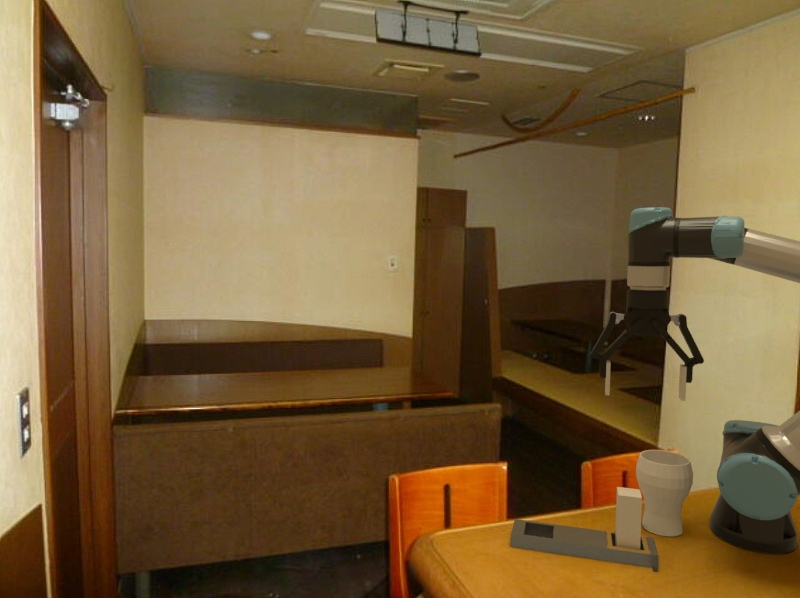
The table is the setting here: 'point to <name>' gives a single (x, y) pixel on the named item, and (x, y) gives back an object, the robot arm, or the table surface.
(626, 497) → the peg
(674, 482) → the cup
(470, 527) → the table surface
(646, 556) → the grey peg hole board
